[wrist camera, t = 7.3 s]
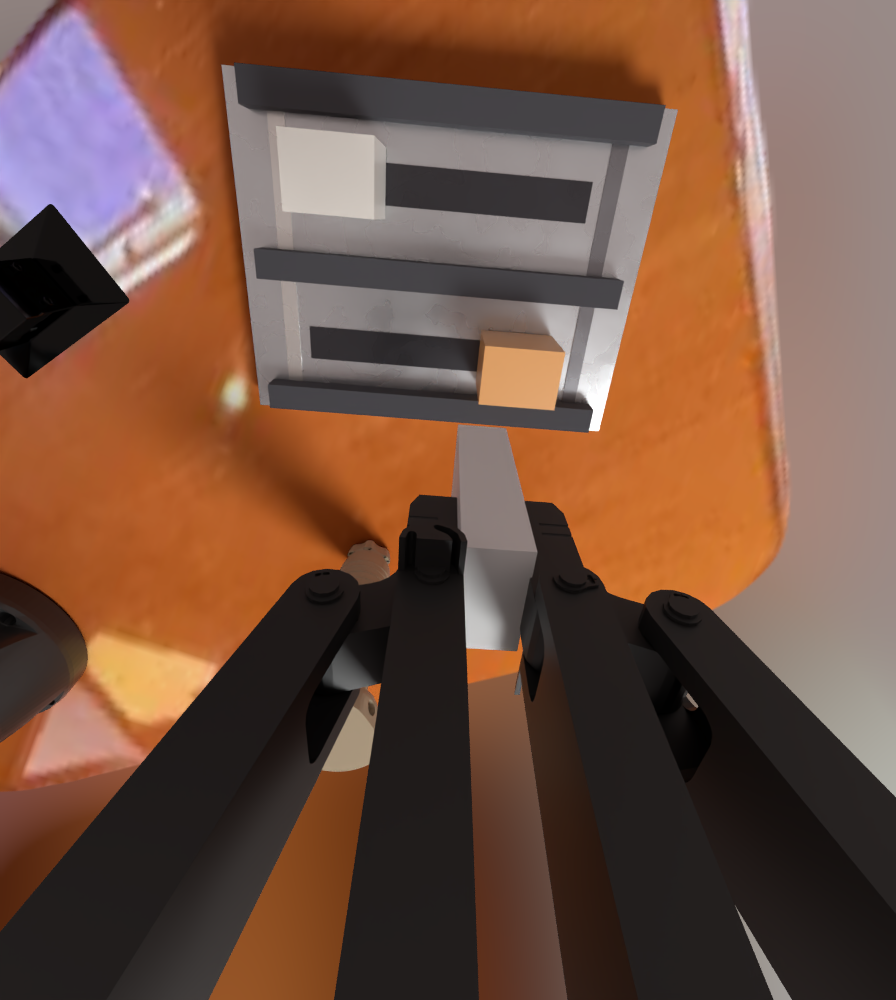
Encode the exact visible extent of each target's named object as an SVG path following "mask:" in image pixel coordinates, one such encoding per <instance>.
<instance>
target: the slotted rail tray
mask: <svg viewBox="0 0 896 1000" xmlns="http://www.w3.org/2000/svg"><path fill="white" fill-rule="evenodd" d="M234 69H235V78H236V88H237V97H238V104H240V105H242V106H244V107H246V108H248V109H257V110H270V111H280V112H288V113H299V114H309V115H319V116H330V117H340V118H351V119H361V120H371V121H382V122H392V123H403V124H413V125H423V126H434V127H444V128H454V129H465V130H475V131H486V132H496V133H506V134H517V135H527V136H538V137H548V138H558V139H569V140H579V141H590V142H600V143H610V144H623V145H631V146H642V147H649V146H652V145H655V144H657V140H658V136H659V131H660V127H661V123H662V119H663V114H664V110H665V106H666V105H658V104H648V103H638V102H627V101H617V100H607V99H597V98H587V97H577V96H567V95H557V94H546V93H536V92H526V91H516V90H506V89H496V88H486V87H476V86H466V85H455V84H445V83H435V82H425V81H415V80H405V79H395V78H385V77H374V76H364V75H354V74H344V73H334V72H324V71H314V70H304V69H294V68H283V67H273V66H263V65H253V64H243V63H234ZM254 259H255V268H256V278H257V279H266V280H278V281H290V282H301V283H313V284H324V285H336V286H348V287H359V288H371V289H383V290H394V291H406V292H417V293H429V294H441V295H452V296H464V297H475V298H487V299H499V300H510V301H522V302H534V303H545V304H557V305H568V306H580V307H592V308H603V309H615V310H617V309H618V305H619V301H620V297H621V292H622V288H623V284H624V281H623V280H620V279H616V278H605V277H592V276H582V275H571V274H559V273H548V272H537V271H525V270H514V269H503V268H491V267H480V266H468V265H457V264H446V263H434V262H423V261H412V260H400V259H389V258H377V257H366V256H355V255H343V254H332V253H321V252H309V251H298V250H285V249H275V248H264V247H260V248H254ZM268 392H269V402H270V408H281V409H293V410H306V411H319V412H332V413H344V414H357V415H370V416H383V417H395V418H408V419H421V420H434V421H446V422H459V423H472V424H485V425H497V426H510V427H523V428H536V429H548V430H561V431H574V432H587V433H588V432H589V428H590V424H591V420H592V415H593V411H594V410H593V409H592V407H591V406H590V405H589V404H586V403H569V402H561V401H556V404H555V409H554V410H543V409H530V408H518V407H505V406H492V405H480V404H478V396H477V395H474V394H461V393H449V392H436V391H424V390H411V389H399V388H386V387H374V386H362V385H349V384H337V383H324V382H312V381H295V380H287V379H273V380H272V381H271V382H270V383H269V384H268Z"/></svg>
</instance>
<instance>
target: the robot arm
mask: <svg viewBox="0 0 896 1000" xmlns="http://www.w3.org/2000/svg"><path fill="white" fill-rule="evenodd" d="M520 634H521V640H522V647H523V653H522V658H521V662H520V667H519V672H518V676H517V681H516V686H515V695H520V691H521V686H522V689H523V696H524V703H525V710H526V717H527V723H528V731H529V738H530V745H531V752H532V758H533V765H534V772H535V779H536V786H537V793H538V799H539V807H540V814H541V820H542V827H543V834H544V841H545V848H546V855H547V861H548V868H549V875H550V882H551V889H552V896H553V902H554V910H555V916H556V924H557V931H558V937H559V944H560V951H561V958H562V965H563V972H564V979H565V985H566V993H567V999H568V1000H773V998H772V995H771V992H770V990H769V988H768V985H767V983H766V980H765V978H764V976H763V973H762V971H761V968H760V966H759V963H758V961H757V958H756V956H755V953H754V951H753V949H752V946H751V944H750V941H749V939H748V936H747V934H746V931H745V929H744V926H743V924H742V922H741V919H740V917H739V914H738V912H737V910H736V907H737V909H738V911H739V912H740V914H741V916H742V917H743V919H744V921H745V922H746V924H747V926H748V927H749V929H750V930H751V932H752V934H753V936H754V937H755V939H756V941H757V942H758V944H759V946H760V947H761V949H762V950H763V952H764V954H765V955H766V957H767V959H768V961H769V962H770V964H771V966H772V967H773V969H774V971H775V972H776V974H777V975H778V977H779V979H780V981H781V982H782V984H783V985H784V987H785V989H786V990H787V992H788V994H789V995H790V997H791V999H792V1000H896V797H895V796H894V795H893V794H892V793H891V792H890V791H889V790H888V789H887V788H886V787H885V786H884V785H883V784H882V783H881V782H880V781H879V780H878V779H877V778H876V777H875V776H874V775H873V774H872V773H871V772H870V771H869V770H868V769H867V768H866V767H865V766H864V765H863V764H862V763H861V762H860V761H859V759H858V758H856V756H855V755H854V754H853V753H852V752H851V751H850V750H849V749H848V748H847V747H846V746H845V745H843V743H842V742H841V741H840V740H839V739H838V738H837V737H836V736H835V735H834V734H833V733H832V732H831V731H830V730H829V729H828V728H827V727H826V726H825V725H824V724H823V723H822V722H821V721H820V720H819V719H818V718H817V717H816V716H815V715H814V714H813V713H812V712H811V711H810V710H809V709H808V708H807V707H806V706H805V705H804V704H803V702H802V701H801V700H800V699H799V698H798V697H797V696H796V695H795V694H794V693H793V692H792V691H791V690H790V689H789V688H788V687H787V686H786V685H785V684H784V683H783V682H782V681H781V680H780V679H779V678H778V677H777V676H776V675H775V674H774V673H773V672H772V671H771V670H770V669H769V668H768V667H767V666H766V665H765V664H764V663H763V662H762V661H761V660H760V659H759V658H758V657H757V656H756V655H755V654H754V653H753V652H752V651H751V650H750V649H749V647H747V645H745V643H744V642H742V640H741V639H740V638H738V636H737V635H736V634H735V633H734V632H733V631H732V630H731V629H730V628H729V627H728V626H727V625H726V624H725V623H724V622H723V621H722V620H721V619H720V618H719V617H718V616H717V615H716V614H715V613H714V612H713V611H712V610H711V609H710V608H709V607H708V606H706V605H705V604H704V603H703V602H701V601H700V600H698V599H696V598H694V597H692V596H690V595H688V594H685V593H682V592H678V591H674V590H659V591H655V592H652V593H651V594H650V595H649V596H648V597H647V598H646V600H645V603H644V604H641V603H638V602H634V601H630V600H627V599H623V598H620V597H617V596H615V595H612V594H610V593H608V592H607V591H606V589H605V586H604V584H603V583H602V581H601V580H600V578H599V577H598V576H597V575H596V574H594V573H593V572H592V571H590V570H589V569H587V568H584V567H583V564H582V561H581V559H580V556H579V553H578V551H577V548H576V545H575V543H574V540H573V537H571V532H570V529H569V528H568V524H567V521H566V519H565V516H564V514H563V513H562V512H561V511H560V510H559V509H558V508H557V507H556V506H555V505H554V504H553V503H546V502H532V501H524V497H523V493H522V490H521V486H520V482H519V478H518V474H517V470H516V466H515V462H514V458H513V454H512V450H511V446H510V442H509V438H508V435H507V431H506V428H495V427H482V426H469V425H458V431H457V442H456V453H455V463H454V474H453V485H452V495H451V497H443V496H430V495H419V496H418V497H417V498H416V499H415V500H414V501H413V502H412V503H411V504H410V510H409V518H408V524H407V528H405V529H404V530H403V531H402V533H401V535H400V537H399V560H398V570H397V571H396V572H395V573H394V574H393V575H391V576H390V577H388V578H386V579H383V580H381V581H377V582H373V583H368V584H362V585H359V584H358V581H357V580H356V579H355V578H354V577H353V576H352V575H351V574H348V573H346V572H343V571H341V570H333V569H323V570H316V571H312V572H309V573H307V574H305V575H302V576H301V577H299V578H298V579H297V580H296V581H294V582H293V583H292V584H291V585H290V587H289V588H288V589H287V590H286V591H285V593H284V594H283V595H282V596H281V597H280V599H279V600H278V601H277V602H276V603H275V605H274V606H273V607H272V608H271V609H270V611H269V612H268V613H267V614H266V615H265V616H264V618H263V619H262V620H261V621H260V622H259V624H258V625H257V626H256V627H255V628H254V630H253V631H252V632H251V633H250V634H249V636H248V637H247V638H246V639H245V640H244V642H243V643H242V644H241V645H240V646H239V648H238V649H237V650H236V651H235V652H234V653H233V655H232V656H231V657H230V658H229V659H228V661H227V662H226V663H225V664H224V665H223V667H222V668H221V669H220V670H219V671H218V673H217V674H216V675H215V676H214V677H213V679H212V680H211V681H210V682H209V683H208V685H207V686H206V687H205V688H204V689H203V690H202V692H201V693H200V694H199V695H198V696H197V698H196V699H195V700H194V701H193V702H192V704H191V705H190V706H189V707H188V708H187V710H186V711H185V712H184V713H183V714H182V716H181V717H180V718H179V719H178V720H177V722H176V723H175V724H174V725H173V726H172V727H171V729H170V730H169V731H168V732H167V733H166V735H165V736H164V737H163V738H162V739H161V741H160V742H159V743H158V744H157V745H156V747H155V748H154V749H153V750H152V751H151V753H150V754H149V755H148V756H147V757H146V759H145V760H144V761H143V762H142V763H141V765H140V766H139V767H138V768H137V769H136V770H135V772H134V773H133V774H132V776H130V778H129V779H128V780H127V781H126V782H125V784H124V785H123V786H122V787H121V788H120V790H119V791H118V792H117V793H116V794H115V796H114V797H113V798H112V799H111V800H110V802H109V803H108V804H107V805H106V807H104V809H103V810H102V811H101V812H100V813H99V815H98V816H97V817H96V818H95V819H94V821H93V822H92V823H91V824H90V825H89V827H88V828H87V829H86V830H85V831H84V833H83V834H82V835H81V836H80V837H79V839H78V840H77V841H76V842H75V843H74V845H73V846H72V847H71V848H70V849H69V851H68V852H67V853H66V854H65V855H64V856H63V858H62V859H61V860H60V861H59V863H58V864H57V865H56V866H55V867H54V868H53V870H52V871H51V872H50V873H49V874H48V876H47V877H46V878H45V879H44V880H43V882H42V883H41V884H40V885H39V887H38V888H37V889H36V890H35V891H34V892H33V894H32V895H31V896H30V897H29V898H28V900H27V901H26V902H25V903H24V904H23V906H22V907H21V908H20V909H19V910H18V911H17V913H16V914H15V915H14V916H13V917H12V919H11V920H10V921H9V922H8V923H7V925H6V926H5V927H4V928H3V929H2V930H1V932H0V1000H208V999H209V997H210V995H211V993H212V991H213V989H214V987H215V985H216V983H217V981H218V979H219V977H220V975H221V973H222V971H223V969H224V967H225V965H226V963H227V961H228V959H229V957H230V955H231V953H232V951H233V949H234V947H235V945H236V943H237V941H238V939H239V937H240V934H241V933H242V931H243V928H244V926H245V924H246V922H247V920H248V918H249V916H250V914H251V912H252V910H253V908H254V906H255V904H256V902H257V900H258V898H259V896H260V894H261V892H262V890H263V888H264V886H265V884H266V882H267V880H268V877H269V876H270V874H271V872H272V870H273V868H274V866H275V864H276V862H277V859H278V858H279V856H280V853H281V851H282V849H283V847H284V845H285V843H286V841H287V839H288V837H289V835H290V833H291V831H292V829H293V827H294V825H295V823H296V821H297V819H298V817H299V815H300V813H301V811H302V809H303V807H304V805H305V803H306V801H307V799H308V797H309V795H310V792H311V791H312V789H313V787H314V785H315V783H316V781H317V778H318V776H319V774H320V772H321V770H322V768H323V766H324V764H325V762H326V760H327V758H328V756H329V754H330V752H331V750H332V748H333V746H334V744H335V742H336V740H337V738H338V736H339V734H340V732H341V730H342V728H343V726H344V724H345V722H346V720H347V718H348V716H349V714H350V712H351V710H352V708H353V706H354V704H355V701H356V699H357V697H358V695H359V693H360V689H361V688H362V687H367V686H371V685H375V684H380V683H381V689H380V696H379V702H378V709H377V716H376V722H375V729H374V736H373V742H372V749H371V756H370V762H369V769H368V776H367V783H366V789H365V796H364V803H363V810H362V817H361V823H360V829H359V836H358V843H357V850H356V857H355V863H354V870H353V876H352V883H351V890H350V897H349V903H348V910H347V916H346V923H345V930H344V937H343V943H342V950H341V957H340V963H339V971H338V977H337V984H336V990H335V997H334V1000H479V992H478V963H477V936H476V908H475V879H474V853H473V852H474V851H473V824H472V796H471V768H470V742H469V741H470V739H469V711H468V684H467V656H466V648H474V649H490V650H506V651H517V649H518V644H519V639H520ZM87 660H88V654H87V648H86V644H85V641H84V639H83V637H82V635H81V633H80V631H79V630H78V628H77V627H76V625H75V624H74V623H73V621H72V620H71V619H70V618H69V617H68V615H67V614H66V613H65V612H64V611H63V610H62V609H60V608H59V607H58V606H57V605H56V604H55V603H54V602H52V601H51V600H50V599H48V598H47V597H46V596H44V595H43V594H41V593H40V592H38V591H36V590H35V589H33V588H31V587H30V586H28V585H26V584H24V583H22V582H20V581H18V580H16V579H13V578H11V577H9V576H6V575H4V574H1V573H0V742H2V741H3V740H5V739H6V738H7V737H9V736H10V735H12V734H13V733H14V732H16V731H17V730H18V729H20V728H21V727H22V726H24V725H25V724H26V723H27V722H29V721H30V720H31V719H32V718H33V717H34V716H35V715H36V714H38V713H40V712H43V711H45V710H47V709H49V708H51V707H52V706H54V705H55V704H56V703H58V702H59V701H60V700H61V699H62V698H64V697H65V695H66V694H67V693H68V692H69V691H70V690H71V688H72V687H73V686H74V685H75V684H76V682H77V681H78V680H79V679H80V677H81V676H82V675H83V673H84V671H85V669H86V666H87ZM687 693H689V694H690V696H691V697H692V698H693V700H694V701H695V702H696V703H697V705H698V708H696V707H695V706H694V705H693V704H692V703H691V702H690V701H689V700H688V698H687V697H686V695H687ZM735 906H736V907H735Z"/></svg>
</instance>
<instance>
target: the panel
mask: <svg viewBox="0 0 896 1000" xmlns="http://www.w3.org/2000/svg"><path fill="white" fill-rule="evenodd" d="M222 73H223V82H224V91H225V99H226V108H227V117H228V125H229V134H230V143H231V152H232V160H233V169H234V178H235V186H236V195H237V204H238V213H239V221H240V230H241V239H242V247H243V256H244V265H245V273H246V282H247V291H248V300H249V308H250V317H251V326H252V334H253V343H254V352H255V361H256V369H257V378H258V387H259V395H260V404H261V405H270V402H269V392H268V384H269V383H270V382H271V381H272V380H273V379H287V380H295V381H312V382H324V383H337V384H349V385H362V386H374V387H386V388H399V389H411V390H424V391H436V392H449V393H461V394H474V395H477V389H476V374H477V365H478V356H479V347H480V337H481V330H489V331H501V332H513V333H524V334H536V335H548V336H552V337H553V338H554V339H555V340H556V342H557V343H558V344H559V345H560V347H561V348H562V349H563V350H564V351H565V358H564V363H563V368H562V373H561V378H560V384H559V389H558V394H557V399H556V401H561V402H569V403H586V404H589V405H590V406H591V407H592V409H593V410H594V411H593V415H592V420H591V424H590V428H589V430H591V431H599V428H600V424H601V419H602V415H603V411H604V407H605V403H606V399H607V395H608V391H609V387H610V383H611V379H612V375H613V371H614V367H615V363H616V359H617V355H618V351H619V346H620V342H621V338H622V334H623V330H624V326H625V322H626V318H627V314H628V310H629V306H630V302H631V298H632V294H633V290H634V286H635V282H636V277H637V273H638V269H639V265H640V261H641V257H642V253H643V249H644V245H645V241H646V237H647V233H648V229H649V225H650V221H651V217H652V213H653V209H654V204H655V200H656V196H657V192H658V188H659V184H660V180H661V176H662V172H663V168H664V164H665V160H666V156H667V152H668V148H669V144H670V140H671V135H672V131H673V127H674V123H675V119H676V115H677V111H678V110H675V109H665V110H664V114H663V119H662V123H661V127H660V131H659V136H658V140H657V144H655V145H652V146H649V147H642V146H631V145H623V144H610V143H600V142H590V141H579V140H569V139H558V138H548V137H538V136H527V135H517V134H506V133H496V132H486V131H475V130H465V129H454V128H444V127H434V126H423V125H413V124H403V123H392V122H382V121H371V120H361V119H351V118H340V117H330V116H319V115H309V114H299V113H288V112H280V111H270V110H257V109H248V108H246V107H244V106H242V105H240V104H238V97H237V88H236V78H235V69H234V66H229V65H222ZM276 126H281V127H292V128H302V129H313V130H323V131H334V132H344V133H355V134H365V135H375V136H376V138H377V139H378V140H379V141H380V142H381V143H382V144H383V145H384V146H385V147H386V194H385V219H363V218H352V217H341V216H330V215H319V214H308V213H297V212H286V211H282V199H281V186H280V173H279V160H278V147H277V134H276ZM260 247H264V248H275V249H285V250H298V251H309V252H321V253H332V254H343V255H355V256H366V257H377V258H389V259H400V260H412V261H423V262H434V263H446V264H457V265H468V266H480V267H491V268H503V269H514V270H525V271H537V272H548V273H559V274H571V275H582V276H592V277H605V278H616V279H620V280H623V281H624V284H623V288H622V292H621V297H620V301H619V305H618V309H617V310H615V309H603V308H592V307H580V306H568V305H557V304H545V303H534V302H522V301H510V300H499V299H487V298H475V297H464V296H452V295H441V294H429V293H417V292H406V291H394V290H383V289H371V288H359V287H348V286H336V285H324V284H313V283H301V282H290V281H278V280H266V279H257V278H256V268H255V259H254V248H260Z"/></svg>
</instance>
